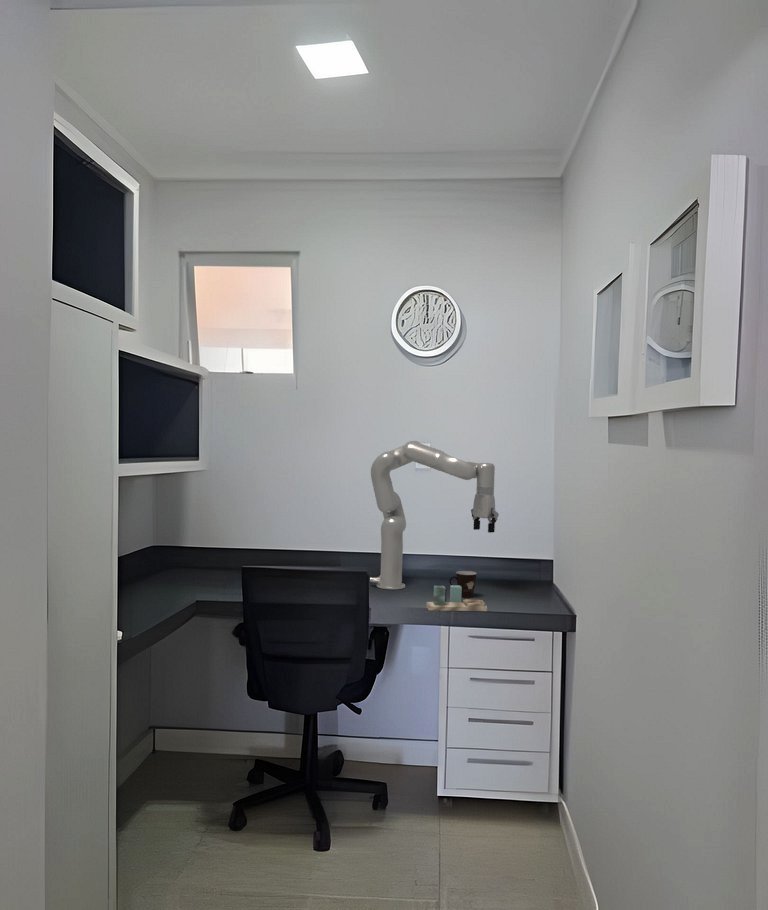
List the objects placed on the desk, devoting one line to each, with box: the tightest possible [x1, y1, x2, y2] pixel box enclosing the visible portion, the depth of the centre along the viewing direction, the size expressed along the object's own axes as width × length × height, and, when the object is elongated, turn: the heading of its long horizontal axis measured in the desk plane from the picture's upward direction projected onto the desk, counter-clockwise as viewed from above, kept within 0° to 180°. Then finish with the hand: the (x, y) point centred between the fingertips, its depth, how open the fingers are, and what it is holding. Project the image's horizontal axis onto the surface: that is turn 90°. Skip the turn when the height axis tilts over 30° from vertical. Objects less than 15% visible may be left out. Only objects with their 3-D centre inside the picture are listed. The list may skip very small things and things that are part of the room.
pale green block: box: [449, 584, 462, 603], centre depth 327 cm, size 5×4×7 cm
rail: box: [425, 585, 488, 612], centre depth 318 cm, size 23×8×8 cm, turn 94°
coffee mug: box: [449, 570, 477, 599], centre depth 341 cm, size 12×9×10 cm
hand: (483, 530), depth 349 cm, fingers open, 9 cm apart
